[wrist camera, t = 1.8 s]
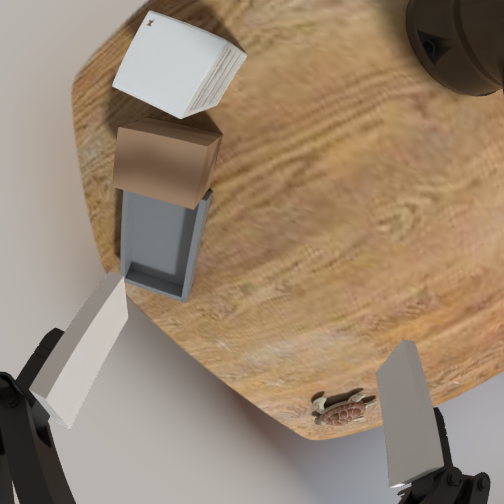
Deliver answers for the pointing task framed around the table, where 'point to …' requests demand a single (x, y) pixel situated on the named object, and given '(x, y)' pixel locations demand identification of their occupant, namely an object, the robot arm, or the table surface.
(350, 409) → the decorative turtle
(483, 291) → the table surface
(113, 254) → the table surface
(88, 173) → the table surface
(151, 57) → the supplement box
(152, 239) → the tray
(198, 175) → the brown block
